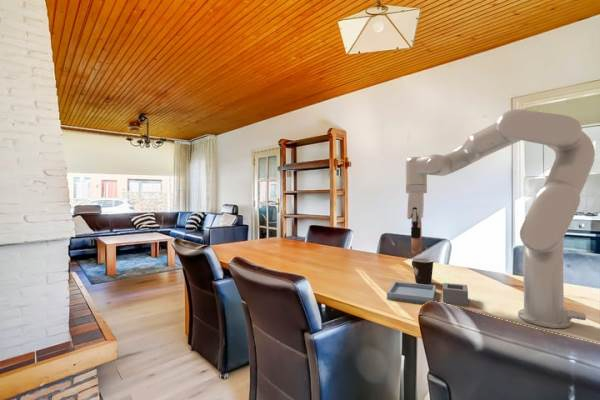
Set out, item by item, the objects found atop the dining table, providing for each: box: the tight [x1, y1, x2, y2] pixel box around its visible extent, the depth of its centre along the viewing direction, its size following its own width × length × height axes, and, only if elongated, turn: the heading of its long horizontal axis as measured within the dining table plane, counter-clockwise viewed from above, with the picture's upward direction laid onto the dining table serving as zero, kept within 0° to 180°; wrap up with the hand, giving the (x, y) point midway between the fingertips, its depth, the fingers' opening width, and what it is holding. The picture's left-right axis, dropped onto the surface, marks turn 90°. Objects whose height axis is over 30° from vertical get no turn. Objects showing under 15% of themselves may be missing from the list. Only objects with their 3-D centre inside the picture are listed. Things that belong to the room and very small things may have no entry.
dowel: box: [411, 221, 423, 255], centre depth 118 cm, size 4×4×12 cm
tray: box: [386, 281, 437, 305], centre depth 119 cm, size 16×16×2 cm
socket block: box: [442, 282, 469, 306], centre depth 112 cm, size 8×8×5 cm
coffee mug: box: [411, 257, 434, 285], centre depth 137 cm, size 12×9×10 cm
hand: (416, 236), depth 118 cm, fingers closed on dowel, 3 cm apart
